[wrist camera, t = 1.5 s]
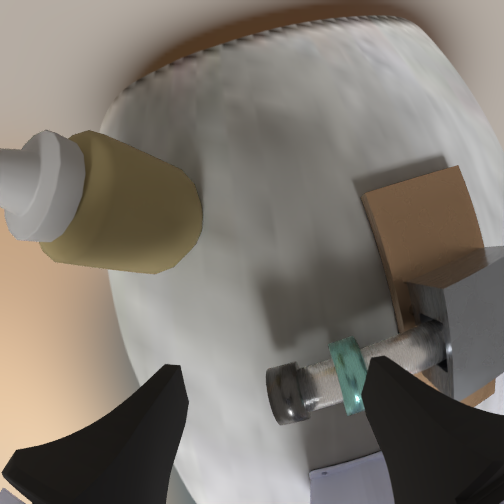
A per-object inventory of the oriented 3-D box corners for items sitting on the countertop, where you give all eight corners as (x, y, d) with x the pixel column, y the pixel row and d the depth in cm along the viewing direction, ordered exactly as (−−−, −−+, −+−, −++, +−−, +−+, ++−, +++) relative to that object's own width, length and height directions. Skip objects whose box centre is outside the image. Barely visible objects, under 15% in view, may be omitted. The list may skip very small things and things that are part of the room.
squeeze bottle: (210, 166, 21) (51, 11, 4) (224, 265, 21) (-10, 279, 3) (129, 189, 23) (-45, 121, 5) (136, 277, 22) (-65, 295, 4)
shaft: (287, 408, 18) (283, 447, 13) (268, 351, 18) (258, 380, 13) (462, 340, 16) (497, 358, 11) (454, 282, 16) (492, 288, 11)
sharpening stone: (411, 430, 18) (437, 473, 11) (360, 197, 19) (389, 168, 12) (487, 387, 16) (524, 414, 9) (450, 170, 18) (494, 141, 11)
